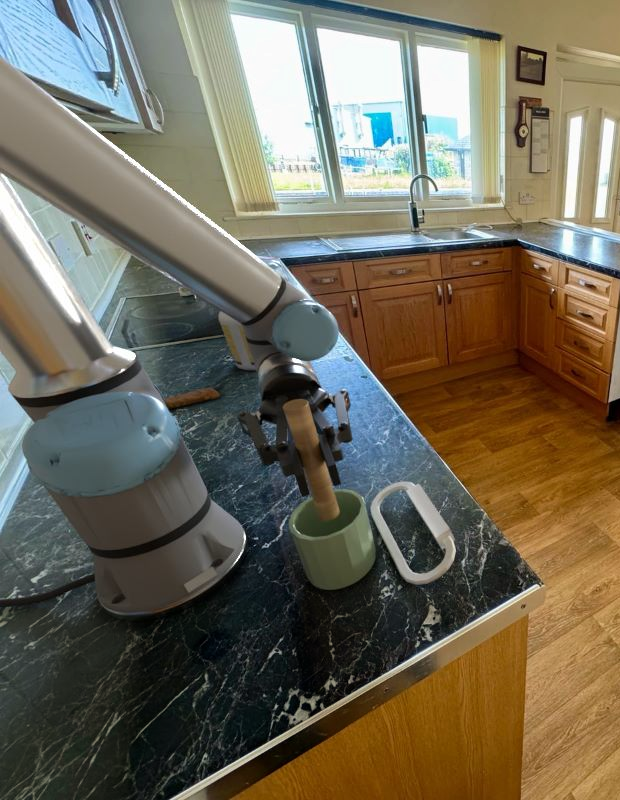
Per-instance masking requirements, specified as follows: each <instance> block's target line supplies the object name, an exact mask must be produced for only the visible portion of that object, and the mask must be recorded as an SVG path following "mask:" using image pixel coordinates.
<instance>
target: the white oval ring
mask: <svg viewBox="0 0 620 800" xmlns="http://www.w3.org/2000/svg"><path fill="white" fill-rule="evenodd" d="M401 490H405V491H404V492H405V493H406V494H407V496H408V497H409V499H410V501H411V503H412V505H413V506H414V508H415V509H416V511H417V512H418V515H420V518H421V519H422V520H423V522H424V524H425V525H426V527H427V529H428V530H429V532H430V533H431V535H432V537H433V538H434V540H435V542H436V543H437V544H438V546H439V547H440V549H441V551H442V553H444V557H443V559H442V560H441V562H440V563H439V564H438V565H437V566H436V567H435V568H433V569H432V570H430V571H428V572H424V573H417V572H413V570H412V569H411V568H410V567H409V564H408V563H407V561H406V559H405V557H404V555H403V553H402V551H401V549H400V548H399V545H398V543H397V542H396V540H395V538H394V536H393V534H392V532H391V530H390V528H389V526H388V524H387V522H386V521H385V519H384V517H383V515H382V513H381V510H380V509H381V508H380V507H381V504H382V502H383V501H384V500H385V499H386V498H387V497H388V496H389V495H391V494H393V493H395V492H397V491H401ZM370 516H371V518H372V520H373V522H374V524H375V526H376V528H377V530H378V532H379V534H380V536H381V538H382V540H383V542H384V544H385V546H386V548H387V550H388V553H389V554H390V556H391V559H392V560H393V562H394V564H395V567H396V568H397V570H398V573H399V575H400V576H401V577H402V578H403V579H404V581H405V582H407V583H409V584H411V585H415V586H420V585H421V586H422V585H427V584H430V583H433V582H434V581H436V580H438V579H440V578H441V577H442V576H443V575H444V574H445V573H447V571H449V569H450V568H451V566H452V564H453V563H454V561H455V556H456V552H457V550H456V549H457V548H456V545H455V541H456V538H455V536H454V533H452V530H451V528H450V527H449V525H448V524H447V522H446V521H445V519H444V518H443V517H442V515H441V514H440V512H439V511H438V509H437V508H436V506H435V505H434V503H433V502H432V500H431V498H430V497H429V496H428V495H427V493H426V491H425V490H424V489H423V487H422V486H421V484H420V483H417V484H414V483H413V482H412V481H398V482H394V483H392V484H390V485H387V486H386V487H384V488H382V490H380V491H379V492H378V493H377V494H376V496H375V497H374V498H373V499H372V501H371V504H370ZM444 549H445V550H444Z"/></svg>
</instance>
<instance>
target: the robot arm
mask: <svg viewBox="0 0 620 800" xmlns="http://www.w3.org/2000/svg"><path fill="white" fill-rule="evenodd" d="M9 179H10V180H11V181H13V182H14V183H16V184H18V185H19V186H20V187H22V188H24V189H26V191H29V192H30V193H32V194H33V195H35V196H36V197H38V198H40V199H42V200H43V201H45V202H47V203H48V204H49V205H51V206H53V208H55V209H58V210H59V211H61V212H62V213H64V214H65V215H67V216H69V217H70V218H72V219H73V220H74V221H77V222H78V223H80V224H81V225H83V226H84V227H86V228H87V229H90V230H91V231H93V232H94V233H96V234H97V235H99V236H100V237H102V238H104V239H105V240H107V241H108V242H110V243H112V244H113V245H115V246H116V247H118V248H120V249H122V250H123V251H124V252H125V253H127V254H129V255H130V256H132V257H134V258H136V259H137V260H138V261H140V262H142V263H143V264H145V265H146V266H148V267H150V268H151V269H153V270H155V272H158V273H159V274H161V275H163V276H164V277H166V278H167V279H169V280H171V281H172V282H174V283H176V284H177V285H178V286H180V287H182V288H184V289H185V290H187V291H188V292H190V293H191V294H193V295H194V296H196V297H198V298H200V299H201V300H202V301H204V302H206V303H207V304H209V305H211V306H212V307H214V308H215V309H217V310H218V311H219V312H220V311H222V312H223V313H225V314H226V315H228V316H230V317H231V318H233V319H234V320H236V321H238V322H239V323H241V325H242V327H243V330H244V333H245V337H246V340H247V343H248V346H249V349H250V352H251V355H252V358H253V361H254V364H255V367H256V370H255V372H256V375H257V383H258V388H259V394H260V400H261V403H260V405H259V407H258V410H257V411H256V412H252V413H249V412H247V411H242V412H239V413H237V414H236V418H237V421H238V424H239V427H240V428H241V431H242V433H243V434H244V435H246V436H248V437H250V438H251V441H252V442H253V444H254V447H255V449H256V451H257V455H258V457H259V458H260V461H261V463H262V466H264V467H269V466H272V465H274V464H275V463H276V462H279V463H278V464H279V467H280V469H281V472H282V475H283V476H284V477H285V478H288V477H291V476H294V478H295V481H296V483H297V486H298V490H299V493H300V495H301V498H304V497H307V496H310V495H311V492H310V489H309V486H308V483H307V480H306V477H305V474H304V470H303V467H302V464H301V461H300V458H299V454H298V451H297V448H296V446H295V443H294V440H293V437H292V434H291V431H290V428H289V425H288V422H287V419H286V416H285V413H284V410H283V406H284V404H285V403H287V402H289V401H292V400H295V399H305V400H307V401H308V403H309V407H310V410H311V414H312V417H313V421H314V424H315V428H316V431H317V434H318V438H319V442H320V446H321V449H322V453H323V456H324V460H325V463H326V465H327V469H328V472H329V476H330V479H331V483H332V486H333V487H337V486H341V485H342V482H341V478H340V475H339V471H338V467H337V464H336V463H337V462H340V461H343V460H344V453H343V450H342V447H341V444H342V443H343V444H349V443H351V442H352V441H353V438H354V437H353V434H352V433H353V432H352V429H351V422H350V418H349V414H348V412H349V411H350V409H351V406H352V404H351V400H350V396H349V392H348V389H346V388H342V389H339V390H338V391H337V392H336V393H333V394H330V393H329V392H328V391H327V390H324V389H323V387H322V385H321V382H320V380H319V379H318V376H317V373H316V372H315V370H314V368H313V367H314V366H313V365H312V363H311V362H313V361H317V360H320V359H322V358H324V357H325V356H327V355H328V354H329V353H331V352H332V350H333V349H334V347H335V346H336V345H337V342H338V339H339V334H340V332H339V331H340V329H339V324H338V321H337V319H336V317H335V316H334V314H333V313H332V312H330V310H328V308H326V307H325V305H323V304H322V303H320V302H319V301H317V300H313V299H312V298H311V297H309V296H308V295H307V294H305V292H302V291H301V290H300V289H299V288H298V287H296V286H295V285H294V284H293V283H291V282H290V279H289V278H288V277H287V274H286V271H285V268H284V266H283V265H282V263H280V261H274V260H261V259H259V258H258V257H257V256H258V255H255V254H254V253H253V252H252V251H251V250H250V249H248V248H247V247H245V246H244V245H243V244H241V243H240V242H239V241H238V240H236V239H235V238H234V237H233V236H231V235H230V233H229V234H228V233H227V232H226V230H224V229H222V228H221V227H220V226H218V224H216V223H215V222H214V221H212V220H211V219H210V218H208V217H207V216H205V214H203V213H202V212H200V211H199V210H198V209H197V208H196V207H194V206H193V205H192V204H190V203H189V202H188V201H186V200H185V199H184V198H183V197H181V196H180V195H179V194H177V193H176V192H175V191H173V189H172V188H170V187H169V186H167V185H166V184H165V183H164V182H162V181H161V180H160V179H158V178H157V177H156V176H154V175H153V174H152V173H151V172H149V171H148V170H147V169H146V168H144V167H143V166H142V165H140V164H139V163H138V162H137V161H136V160H134V159H133V158H132V157H130V156H129V155H128V154H126V153H125V152H124V151H123V150H121V149H120V148H119V147H117V146H116V145H115V144H113V142H111V141H110V140H108V139H107V138H106V137H105V136H103V135H102V134H101V133H99V132H98V131H97V130H96V129H95V128H93V127H92V126H91V125H89V124H88V123H87V122H85V121H84V120H83V119H81V118H80V117H79V116H78V115H76V113H74V112H73V111H71V110H70V109H69V108H68V107H66V106H65V105H64V104H62V103H61V101H59V100H58V99H56V98H55V97H53V96H52V95H51V94H49V92H47V91H46V90H45V89H43V88H42V87H41V86H40V85H38V84H37V83H36V82H34V81H33V80H32V79H30V78H29V77H28V76H27V75H25V74H24V73H23V72H22V71H21V70H19V69H18V68H17V67H15V66H14V65H13V64H12V63H10V62H9V61H7V59H5V58H3V57H2V56H1V55H0V353H1V355H3V357H4V359H5V360H6V361H7V363H8V364H9V365H10V366H11V367H12V368H13V370H14V371H15V373H14V376H13V377H12V379H11V381H10V383H9V385H8V387H7V391H8V392H9V394H10V395H11V396H12V397H13V398H14V400H15V401H16V402H17V404H18V405H19V406H20V407H21V408H22V410H23V411H24V413H26V415H27V416H28V417H29V418H30V419H31V420H32V422H33V424H31V425H30V427H29V428H28V429H27V431H26V432H25V434H24V436H23V439H22V442H21V447H22V448H21V450H22V454H23V456H24V459H25V460H26V463H27V467H28V471H29V472H30V474H31V475H32V476H33V477H34V478H35V479H36V480H37V481H38V483H39V484H40V485H41V486H43V487H44V489H45V490H46V491H47V492H48V494H49V496H50V497H51V498H52V500H53V501H54V502H55V503H56V505H57V506H58V508H59V509H60V510H61V512H62V513H63V514H64V516H65V518H66V519H67V520H68V521H69V523H70V524H71V526H72V527H73V528H74V530H75V531H76V533H77V534H78V535H79V537H80V538H81V539H82V541H83V542H84V544H85V545H86V546H87V547H88V549H89V550H90V552H91V553H92V558H93V570H94V571H93V573H90V574H88V575H85V576H83V577H80V578H78V579H75V580H73V581H72V580H71V581H70V582H68V583H65V584H63V585H61V586H59V587H56V588H54V589H52V590H48V591H46V592H43V593H38V594H34V595H29V596H21V597H12V598H0V608H10V607H21V606H26V605H27V606H29V605H34V604H39V603H42V602H46V601H49V600H52V599H55V598H58V597H60V596H62V595H64V594H66V593H69V592H70V591H73V590H76V589H78V588H81V587H83V586H86V585H88V584H91V583H93V582H94V585H95V594H96V596H97V600H98V602H99V604H100V605H101V606H102V607H103V609H104V610H105V611H106V612H107V613H108V615H110V616H111V617H112V618H113V619H117V620H120V621H125V622H144V621H146V622H147V621H152V620H156V619H160V618H161V619H162V618H163V617H167V616H171V615H172V614H176V613H178V612H181V611H183V610H185V609H187V608H189V607H191V606H194V605H195V604H197V603H200V602H201V601H202V600H205V598H207V597H209V596H210V595H212V594H213V593H214V592H216V591H217V590H218V589H220V588H221V587H222V586H223V585H224V584H225V583H227V581H229V580H230V579H231V578H232V576H233V575H234V574H235V573H236V572H237V571H238V569H239V568H240V566H242V564H243V562H244V561H245V559H246V556H247V554H248V551H249V550H248V549H249V538H248V535H247V533H246V531H245V529H244V527H243V525H242V524H241V523H240V522H239V521H238V520H237V519H236V518H235V517H233V516H232V515H231V514H230V513H229V512H228V511H226V510H225V509H223V507H221V506H220V505H218V503H216V502H215V501H214V500H212V498H211V496H210V494H209V491H208V490H207V487H206V485H205V482H204V481H203V479H202V477H201V473H200V472H199V470H198V467H197V466H196V463H195V462H194V460H193V457H192V454H191V453H190V450H189V449H188V447H187V444H186V443H185V441H184V438H183V436H182V434H181V428H180V425H179V422H178V421H177V419H176V417H175V416H174V414H173V413H172V412H170V409H167V407H166V402H165V397H164V395H163V392H162V391H161V390H160V388H159V387H158V386H157V385H156V384H155V383H153V381H152V380H151V378H150V376H149V375H148V372H147V371H146V370H145V368H144V366H143V365H142V363H141V361H140V360H139V358H138V357H137V355H136V354H135V352H133V351H131V350H130V349H127V348H123V347H120V346H115V345H114V344H112V343H111V341H110V339H109V338H108V336H107V334H106V333H105V332H104V330H103V329H102V327H101V325H100V324H99V322H98V320H97V319H96V317H95V316H94V314H93V312H92V311H91V309H90V307H89V306H88V304H87V302H86V301H85V299H84V298H83V296H82V295H81V293H80V291H79V290H78V288H77V287H76V285H75V283H74V282H73V280H72V278H71V277H70V276H69V274H68V272H67V271H66V269H65V267H64V266H63V264H62V263H61V262H60V260H59V257H58V256H57V255H56V253H55V251H54V250H53V248H52V247H51V245H50V244H49V242H48V241H47V239H46V237H45V236H44V233H42V231H41V229H40V228H39V225H37V223H36V221H35V220H34V218H33V216H32V215H31V213H30V212H29V210H28V209H27V207H26V205H25V204H24V202H23V200H22V198H21V197H20V195H19V194H18V192H17V190H16V189H15V188H14V186H13V185H12V183H11V181H10V180H9ZM330 405H331V407H332V408H334V409H335V414H336V420H337V426H338V427H336V428H335V427H334V424H333V423H331V422H330V421H329V420H328V419H327V417H326V416H325V415H324V412H325V411H326V410H327V409H328V408H329V406H330ZM263 421H264V422H266V423H270V424H273V425H276V431H275V443H274V444H273V445H270V443H269V442H268V439H267V437H266V435H265V433H264V431H263V429H262V427H263V425H264V423H263Z"/></svg>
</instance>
